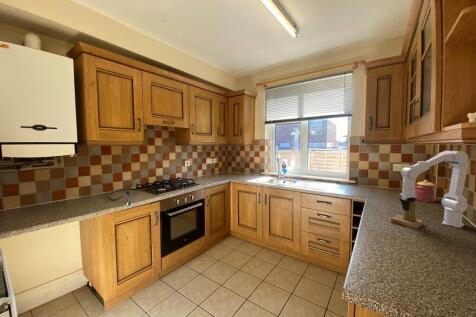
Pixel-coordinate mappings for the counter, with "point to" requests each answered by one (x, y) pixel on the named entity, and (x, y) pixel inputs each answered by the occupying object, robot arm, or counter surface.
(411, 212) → the olive rounded piece
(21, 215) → the counter surface
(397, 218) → the tan flat block
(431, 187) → the canister
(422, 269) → the counter surface
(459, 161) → the robot arm
